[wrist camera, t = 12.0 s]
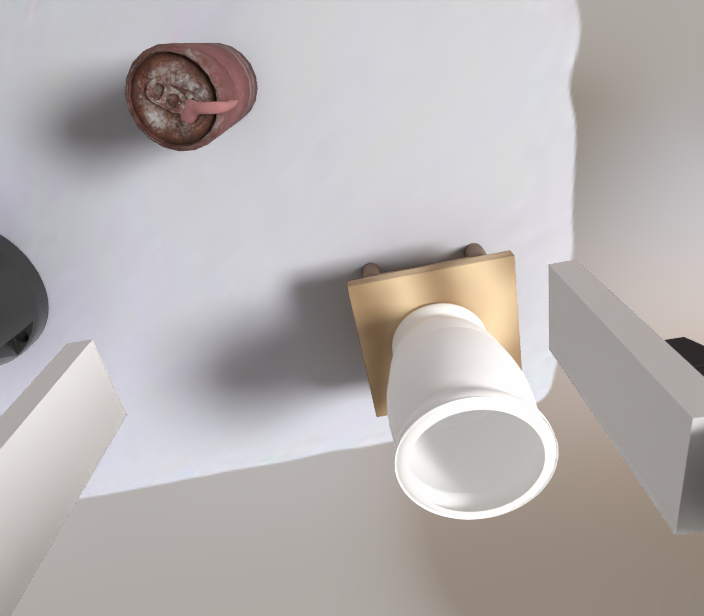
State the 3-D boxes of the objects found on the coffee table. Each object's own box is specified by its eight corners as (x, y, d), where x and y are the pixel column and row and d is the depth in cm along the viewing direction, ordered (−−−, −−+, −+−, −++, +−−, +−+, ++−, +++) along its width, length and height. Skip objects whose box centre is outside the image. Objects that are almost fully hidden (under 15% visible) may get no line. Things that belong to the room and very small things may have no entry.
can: (265, 120, 45) (235, 151, 32) (191, 124, 45) (132, 156, 32) (256, 41, 42) (219, 40, 30) (177, 45, 42) (107, 46, 30)
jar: (522, 321, 46) (594, 436, 33) (458, 406, 50) (499, 539, 37) (417, 270, 44) (448, 371, 30) (359, 364, 48) (364, 489, 34)
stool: (373, 375, 57) (376, 417, 51) (347, 256, 51) (347, 286, 44) (503, 353, 56) (523, 392, 49) (492, 228, 50) (514, 255, 43)
